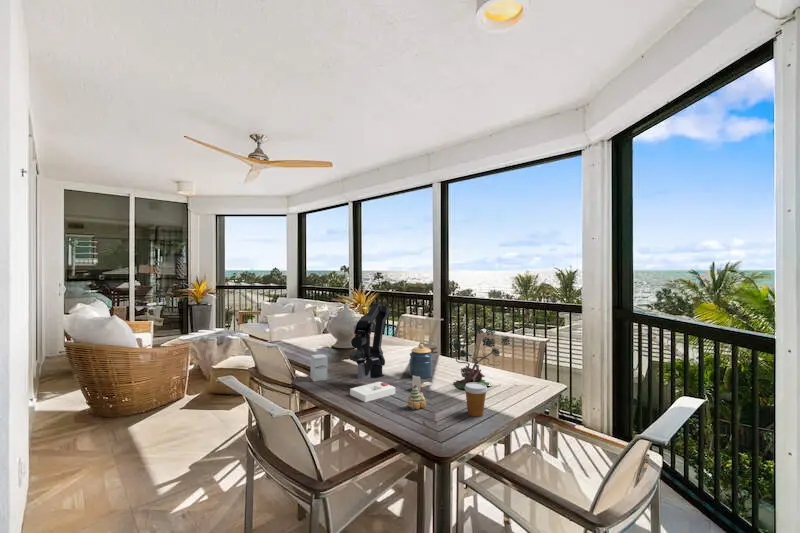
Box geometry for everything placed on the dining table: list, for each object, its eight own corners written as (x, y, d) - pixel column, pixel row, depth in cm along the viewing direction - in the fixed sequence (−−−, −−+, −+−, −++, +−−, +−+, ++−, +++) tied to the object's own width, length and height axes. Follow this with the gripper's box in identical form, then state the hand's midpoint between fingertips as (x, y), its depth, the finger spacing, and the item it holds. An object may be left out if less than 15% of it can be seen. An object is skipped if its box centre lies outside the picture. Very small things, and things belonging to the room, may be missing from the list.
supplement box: (313, 382, 204) (314, 358, 204) (310, 378, 211) (310, 354, 211) (327, 380, 208) (327, 356, 207) (323, 376, 214) (323, 353, 214)
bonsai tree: (479, 400, 181) (481, 332, 180) (441, 387, 199) (442, 325, 199) (522, 386, 203) (523, 325, 203) (484, 375, 222) (485, 319, 222)
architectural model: (417, 388, 198) (417, 374, 198) (426, 392, 193) (426, 377, 192) (412, 390, 196) (412, 375, 196) (421, 393, 190) (421, 378, 190)
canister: (405, 377, 216) (406, 345, 216) (413, 371, 228) (414, 340, 228) (428, 380, 211) (428, 347, 211) (435, 373, 223) (435, 343, 223)
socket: (379, 387, 197) (379, 379, 197) (395, 393, 188) (395, 385, 188) (350, 395, 185) (350, 387, 185) (365, 402, 176) (365, 393, 176)
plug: (365, 375, 204) (365, 362, 203) (370, 377, 201) (370, 363, 200) (357, 377, 200) (357, 363, 200) (362, 379, 197) (362, 365, 197)
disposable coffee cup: (461, 409, 169) (462, 382, 169) (483, 409, 170) (483, 381, 170) (467, 418, 160) (467, 389, 160) (489, 418, 161) (490, 389, 161)
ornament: (419, 403, 176) (419, 381, 176) (428, 407, 172) (428, 384, 171) (405, 407, 171) (405, 384, 171) (414, 411, 167) (414, 388, 166)
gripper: (341, 343, 202) (340, 373, 202) (362, 349, 188) (362, 382, 188) (358, 340, 209) (358, 369, 209) (380, 346, 195) (380, 377, 196)
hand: (364, 374), depth 200 cm, fingers closed on plug, 4 cm apart
